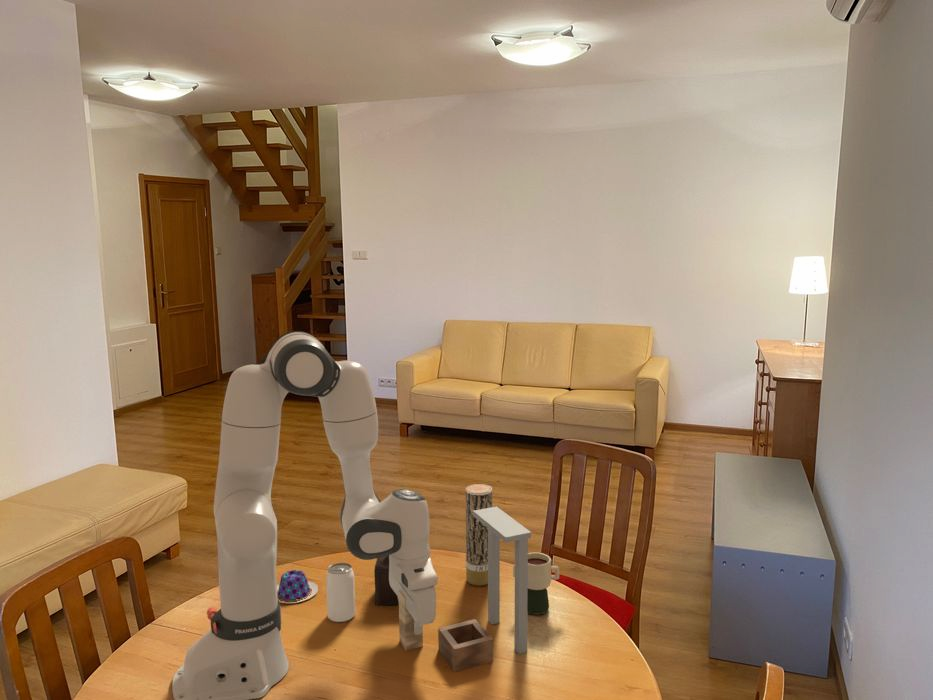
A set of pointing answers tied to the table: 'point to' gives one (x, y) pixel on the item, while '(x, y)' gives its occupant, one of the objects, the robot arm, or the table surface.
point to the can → (340, 592)
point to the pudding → (295, 586)
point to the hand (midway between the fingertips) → (411, 623)
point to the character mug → (539, 582)
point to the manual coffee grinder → (384, 584)
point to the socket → (465, 645)
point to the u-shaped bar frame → (508, 532)
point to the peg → (407, 627)
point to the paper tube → (477, 534)
